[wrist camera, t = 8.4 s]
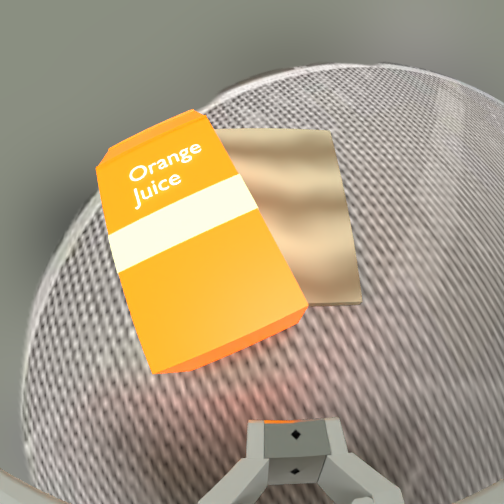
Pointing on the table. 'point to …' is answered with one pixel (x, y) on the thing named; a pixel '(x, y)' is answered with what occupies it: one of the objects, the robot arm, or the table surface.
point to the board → (301, 206)
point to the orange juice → (192, 247)
